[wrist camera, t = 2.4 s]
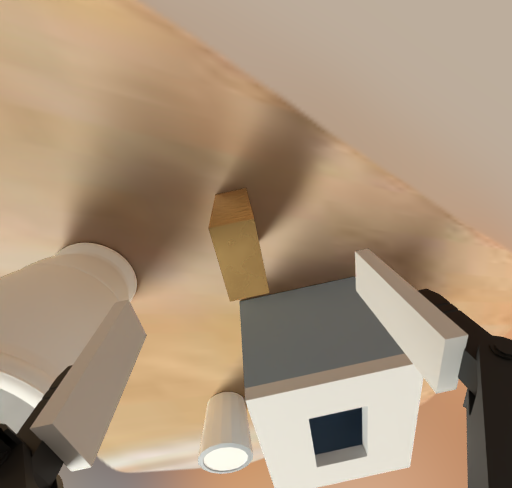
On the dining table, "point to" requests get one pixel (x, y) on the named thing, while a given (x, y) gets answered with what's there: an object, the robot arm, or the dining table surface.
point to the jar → (53, 320)
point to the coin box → (326, 386)
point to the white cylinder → (225, 435)
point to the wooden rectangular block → (237, 245)
